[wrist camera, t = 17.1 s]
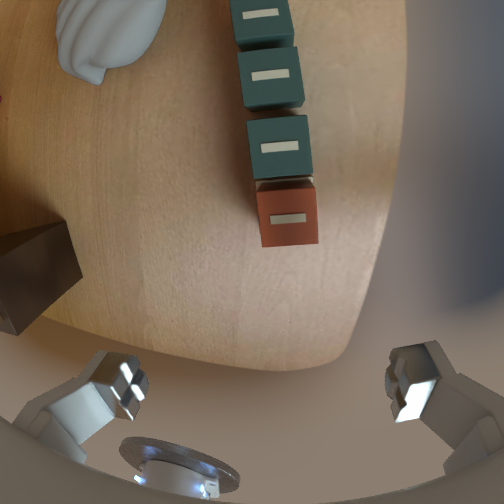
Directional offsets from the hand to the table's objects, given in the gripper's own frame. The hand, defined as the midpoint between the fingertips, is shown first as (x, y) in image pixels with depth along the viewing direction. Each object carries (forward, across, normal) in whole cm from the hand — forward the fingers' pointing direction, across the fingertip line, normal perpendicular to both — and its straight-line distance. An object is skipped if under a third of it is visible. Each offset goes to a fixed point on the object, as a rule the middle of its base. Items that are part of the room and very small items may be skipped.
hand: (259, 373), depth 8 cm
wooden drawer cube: (+17, -1, -1) cm, 17 cm away
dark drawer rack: (+17, +34, +1) cm, 38 cm away
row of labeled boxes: (+17, -1, -9) cm, 19 cm away
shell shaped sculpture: (+17, +12, -21) cm, 30 cm away
